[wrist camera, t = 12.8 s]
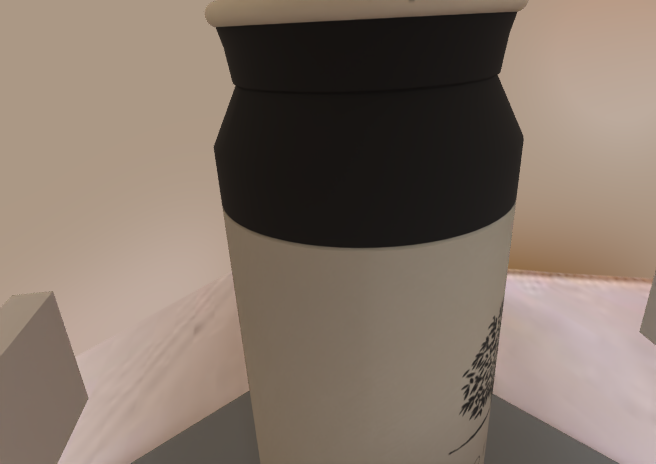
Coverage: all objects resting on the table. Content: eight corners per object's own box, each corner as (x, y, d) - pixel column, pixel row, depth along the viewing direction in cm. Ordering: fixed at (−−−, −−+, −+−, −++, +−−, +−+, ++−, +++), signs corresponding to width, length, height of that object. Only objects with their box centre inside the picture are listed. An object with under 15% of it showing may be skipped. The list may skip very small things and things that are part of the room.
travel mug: (226, 520, 18) (123, 7, 11) (351, 399, 24) (337, 4, 16) (403, 684, 14) (429, -29, 6) (508, 487, 19) (586, -15, 12)
